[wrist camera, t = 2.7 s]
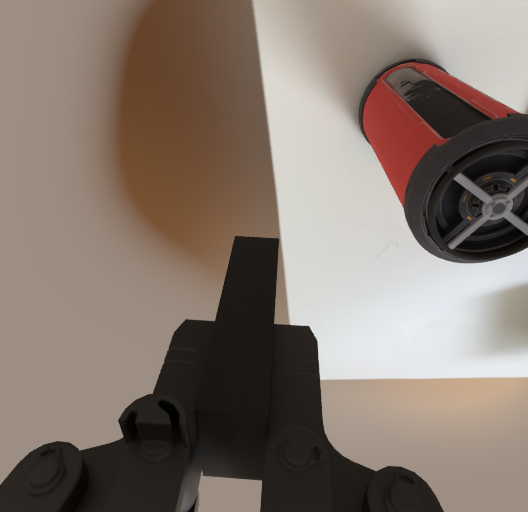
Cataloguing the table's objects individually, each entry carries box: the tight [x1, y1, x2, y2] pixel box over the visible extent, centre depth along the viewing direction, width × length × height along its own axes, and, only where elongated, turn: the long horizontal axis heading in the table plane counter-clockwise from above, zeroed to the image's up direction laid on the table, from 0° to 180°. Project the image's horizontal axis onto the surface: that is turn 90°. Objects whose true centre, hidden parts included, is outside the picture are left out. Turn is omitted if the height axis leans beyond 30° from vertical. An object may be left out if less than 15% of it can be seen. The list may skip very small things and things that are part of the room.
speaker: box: [359, 59, 528, 263], centre depth 25 cm, size 8×8×18 cm
